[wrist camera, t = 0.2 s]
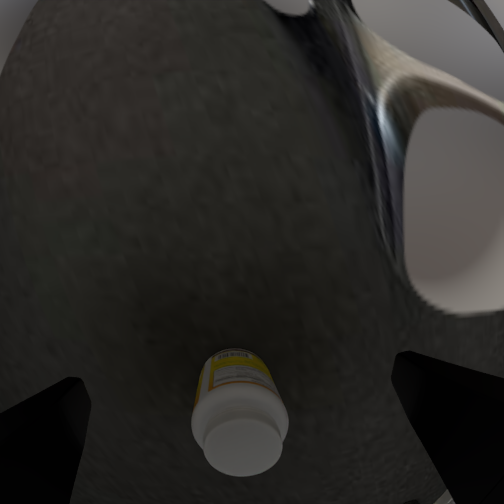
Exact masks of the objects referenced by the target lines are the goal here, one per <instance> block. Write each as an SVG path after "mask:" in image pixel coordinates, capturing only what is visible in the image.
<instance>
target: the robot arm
mask: <svg viewBox="0 0 504 504" xmlns="http://www.w3.org/2000/svg"><path fill="white" fill-rule="evenodd" d="M391 381H392V384H393V386H394V388H395V391H396V393H397V395H398V397H399V399H400V402H401V404H402V406H403V408H404V411H405V413H406V415H407V417H408V419H409V421H410V423H411V425H412V427H413V428H414V430H415V432H416V434H417V435H418V437H419V439H420V440H421V442H422V444H423V446H424V447H425V449H426V451H427V453H428V455H429V456H430V458H431V460H432V462H433V463H434V465H435V467H436V469H437V471H438V472H439V474H440V476H441V478H442V480H443V482H444V484H445V485H446V487H447V489H448V491H449V493H450V495H451V497H452V499H453V501H454V502H455V504H504V378H501V377H497V376H494V375H490V374H486V373H483V372H479V371H476V370H472V369H469V368H465V367H462V366H459V365H455V364H452V363H448V362H445V361H442V360H439V359H435V358H432V357H429V356H426V355H422V354H419V353H416V352H413V351H404V352H401V353H398V354H397V355H396V357H395V361H394V366H393V370H392V375H391ZM90 411H91V400H90V398H89V395H88V393H87V390H86V387H85V385H84V382H83V381H82V379H81V378H77V377H67V378H65V379H63V380H61V381H59V382H58V383H56V384H54V385H52V386H50V387H48V388H47V389H45V390H43V391H41V392H39V393H37V394H36V395H34V396H32V397H30V398H28V399H26V400H24V401H22V402H21V403H19V404H17V405H15V406H13V407H11V408H9V409H7V410H5V411H4V412H2V413H0V504H69V503H70V498H71V494H72V490H73V486H74V482H75V478H76V474H77V470H78V466H79V463H80V459H81V456H82V452H83V448H84V443H85V437H86V431H87V426H88V421H89V416H90Z"/></svg>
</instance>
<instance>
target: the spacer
mask: <svg viewBox="0 0 504 504" xmlns="http://www.w3.org/2000/svg"><path fill="white" fill-rule="evenodd" d="M404 504H419V503H418V501H417V500H410V501H408V502H405V503H404Z"/></svg>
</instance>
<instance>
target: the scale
mask: <svg viewBox="0 0 504 504" xmlns="http://www.w3.org/2000/svg"><path fill="white" fill-rule="evenodd" d="M434 504H455V502H454V501H453V499H452V497H451V495H450V493H449V491H448V489H447V490H446V491H445V492H444V493H443V494H442V496H441V497H440V498H439V499H438V500H437V501H436V502H435V503H434Z"/></svg>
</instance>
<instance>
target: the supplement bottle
mask: <svg viewBox="0 0 504 504" xmlns="http://www.w3.org/2000/svg"><path fill="white" fill-rule="evenodd" d="M288 425H289V420H288V414H287V411H286V408H285V406H284V404H283V402H282V399H281V397H280V395H279V393H278V390H277V388H276V386H275V384H274V381H273V379H272V377H271V375H270V372H269V370H268V368H267V366H266V364H265V363H264V362H263V361H262V359H261V358H259V357H258V356H257V355H255V354H254V353H252V352H250V351H247V350H244V349H235V348H234V349H226V350H222V351H220V352H218V353H216V354H214V355H213V356H211V357H210V358H209V359H208V360H207V361H206V363H205V364H204V366H203V368H202V370H201V373H200V377H199V383H198V388H197V393H196V398H195V403H194V408H193V414H192V422H191V426H192V432H193V435H194V438H195V440H196V441H197V443H198V444H199V446H200V447H201V448H202V449H203V450H204V455H205V457H206V459H207V461H208V462H209V463H210V464H211V465H212V466H213V467H214V468H215V469H217V470H218V471H220V472H222V473H225V474H228V475H232V476H241V477H242V476H252V475H256V474H259V473H262V472H264V471H266V470H268V469H269V468H271V467H272V466H273V465H274V464H275V463H276V462H277V461H278V459H279V457H280V455H281V453H282V448H283V445H282V442H283V440H284V439H285V437H286V434H287V431H288Z"/></svg>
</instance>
